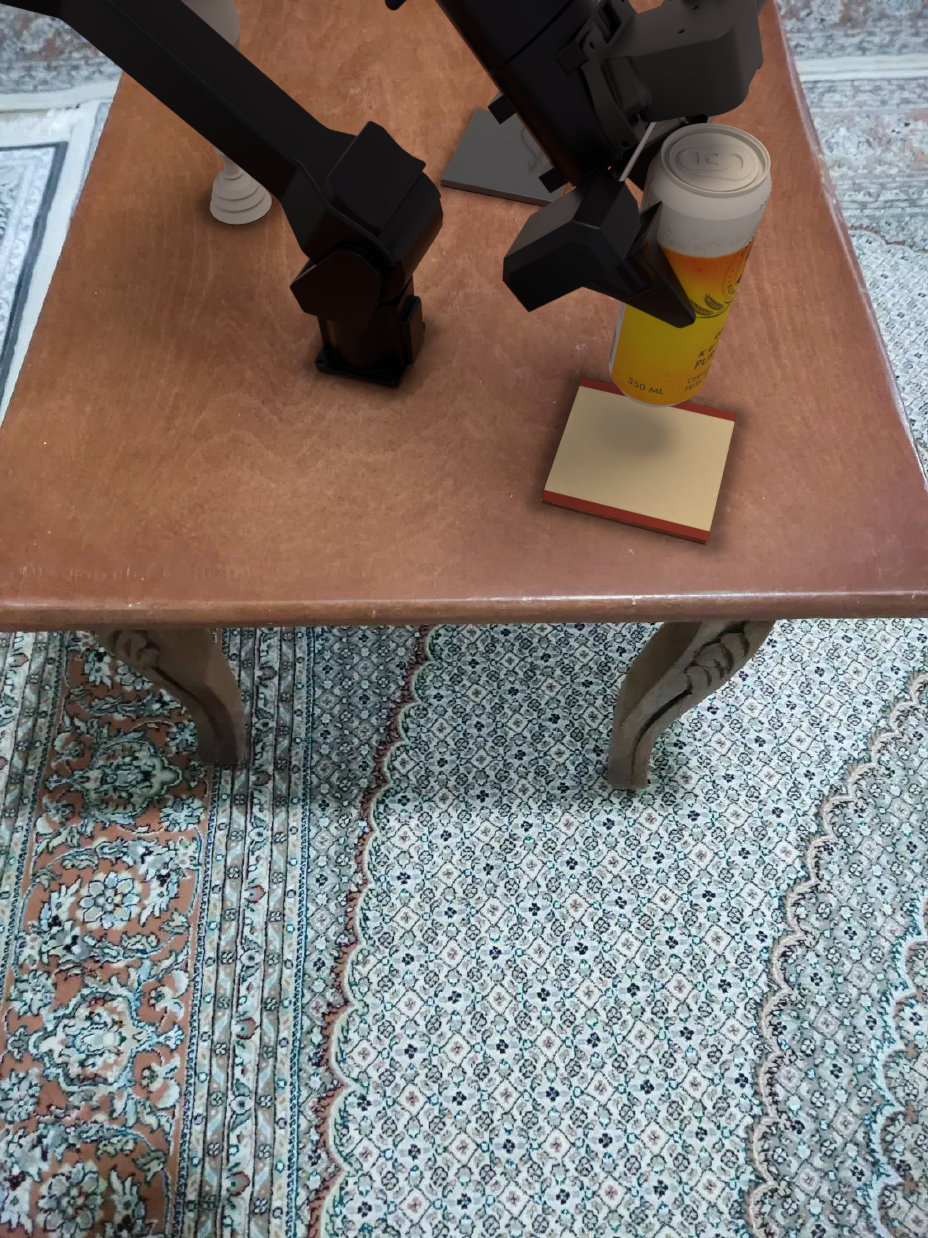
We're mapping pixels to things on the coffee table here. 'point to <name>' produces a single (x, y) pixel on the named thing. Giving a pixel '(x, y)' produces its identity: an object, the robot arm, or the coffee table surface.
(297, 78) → the coffee table surface
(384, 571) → the coffee table surface
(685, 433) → the beige and red tile
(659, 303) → the robot arm
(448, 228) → the coffee table surface
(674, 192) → the beer can
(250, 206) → the chalice
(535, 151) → the coaster
